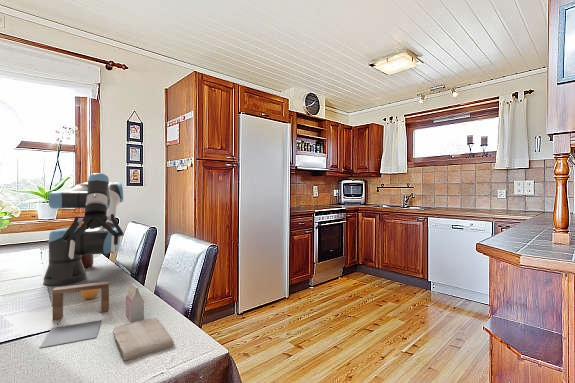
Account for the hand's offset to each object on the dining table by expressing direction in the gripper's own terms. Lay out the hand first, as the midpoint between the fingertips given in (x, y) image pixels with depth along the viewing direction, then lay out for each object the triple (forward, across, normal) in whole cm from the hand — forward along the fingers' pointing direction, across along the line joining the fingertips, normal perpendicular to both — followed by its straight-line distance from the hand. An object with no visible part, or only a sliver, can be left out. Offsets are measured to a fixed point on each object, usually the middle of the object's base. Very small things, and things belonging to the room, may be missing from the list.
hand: (92, 255), depth 113 cm
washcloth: (+38, +20, -27) cm, 51 cm away
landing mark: (+31, +2, -20) cm, 37 cm away
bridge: (+24, +1, -8) cm, 25 cm away
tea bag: (+29, +17, -14) cm, 37 cm away
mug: (-15, -17, +49) cm, 54 cm away
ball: (+12, -1, +4) cm, 13 cm away
